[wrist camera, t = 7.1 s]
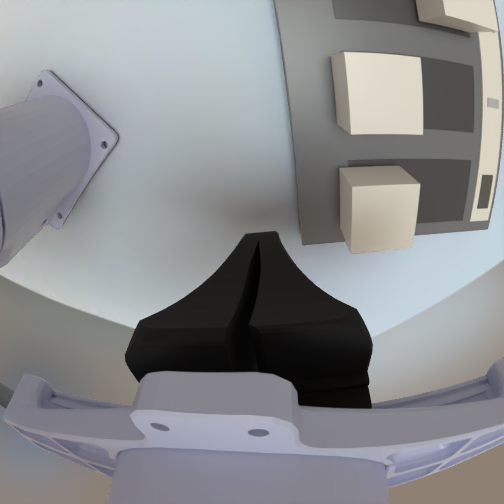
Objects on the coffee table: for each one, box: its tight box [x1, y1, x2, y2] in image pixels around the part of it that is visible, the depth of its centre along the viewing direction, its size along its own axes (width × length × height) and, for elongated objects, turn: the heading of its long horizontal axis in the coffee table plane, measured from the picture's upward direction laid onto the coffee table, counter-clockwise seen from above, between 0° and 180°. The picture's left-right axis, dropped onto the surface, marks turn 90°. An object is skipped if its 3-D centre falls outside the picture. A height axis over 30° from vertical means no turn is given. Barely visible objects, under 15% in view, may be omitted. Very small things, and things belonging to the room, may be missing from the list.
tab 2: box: [339, 166, 420, 254], centre depth 15 cm, size 4×4×3 cm
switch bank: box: [274, 0, 504, 245], centre depth 13 cm, size 14×18×2 cm
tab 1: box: [331, 52, 423, 135], centre depth 12 cm, size 4×4×3 cm
